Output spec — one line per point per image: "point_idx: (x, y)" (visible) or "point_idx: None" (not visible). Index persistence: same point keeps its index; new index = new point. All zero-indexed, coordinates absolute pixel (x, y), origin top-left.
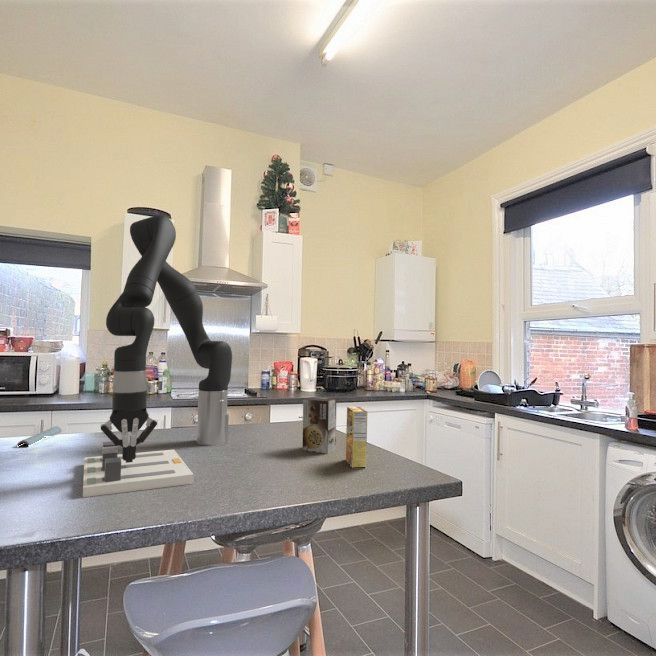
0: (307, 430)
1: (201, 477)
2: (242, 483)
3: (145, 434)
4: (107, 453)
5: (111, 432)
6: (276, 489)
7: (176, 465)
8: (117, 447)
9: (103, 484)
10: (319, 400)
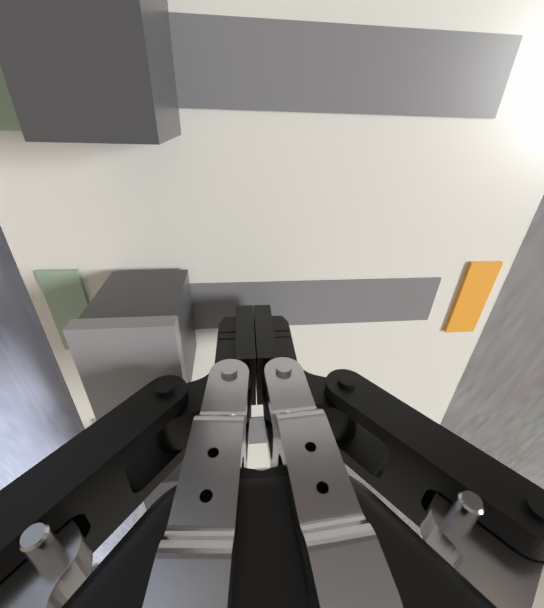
0: None
1: (469, 370)
2: (515, 439)
3: (375, 472)
4: None
5: (104, 538)
6: (535, 480)
7: (434, 358)
8: (180, 364)
9: None
10: None
